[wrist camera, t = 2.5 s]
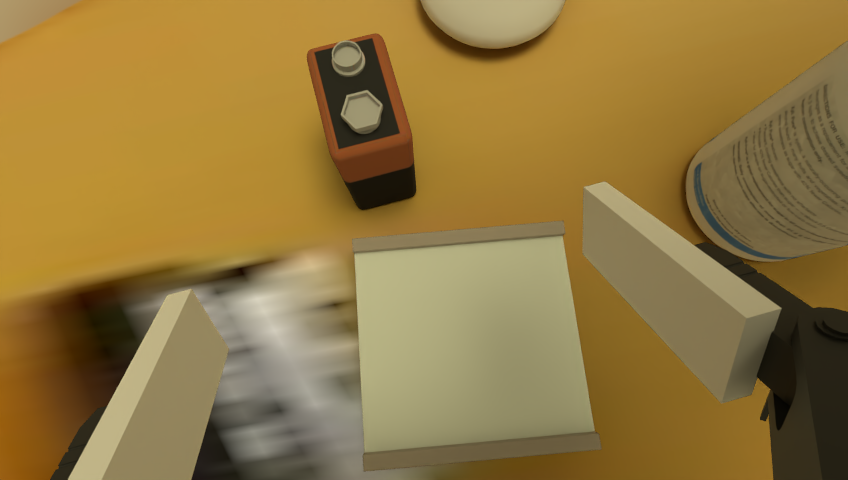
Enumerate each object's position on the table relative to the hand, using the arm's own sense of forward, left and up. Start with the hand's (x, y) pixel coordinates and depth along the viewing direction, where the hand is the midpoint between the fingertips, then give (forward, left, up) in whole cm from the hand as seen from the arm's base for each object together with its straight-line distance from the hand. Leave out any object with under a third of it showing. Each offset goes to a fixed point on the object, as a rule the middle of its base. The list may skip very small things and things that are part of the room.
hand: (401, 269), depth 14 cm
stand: (-3, +2, -15) cm, 15 cm away
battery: (+2, -11, -15) cm, 18 cm away
